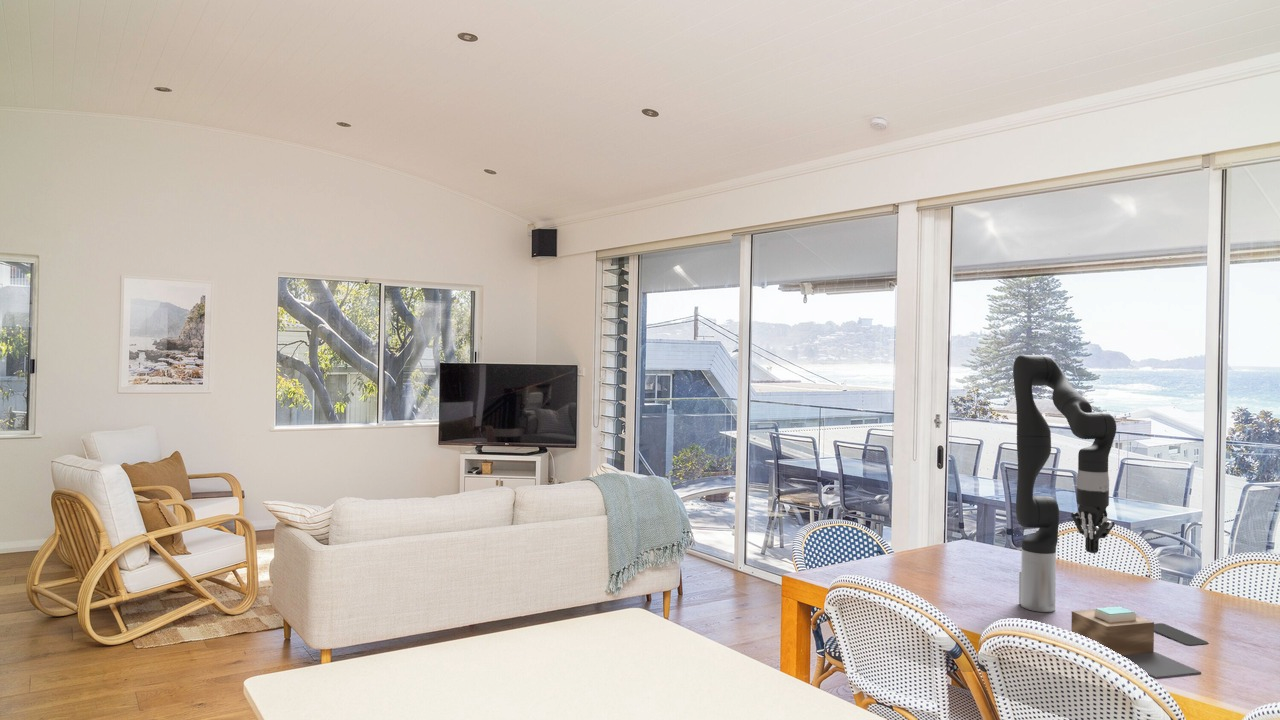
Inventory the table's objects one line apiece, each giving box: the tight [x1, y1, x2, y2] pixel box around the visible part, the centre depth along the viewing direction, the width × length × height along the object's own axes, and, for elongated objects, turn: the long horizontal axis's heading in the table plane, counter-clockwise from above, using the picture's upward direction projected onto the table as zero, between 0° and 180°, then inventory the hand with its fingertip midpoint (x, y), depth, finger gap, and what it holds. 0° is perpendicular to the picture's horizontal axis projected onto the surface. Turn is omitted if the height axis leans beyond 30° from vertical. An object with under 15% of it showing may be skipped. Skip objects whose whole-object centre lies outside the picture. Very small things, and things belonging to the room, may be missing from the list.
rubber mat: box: [1122, 651, 1202, 680], centre depth 199 cm, size 13×13×1 cm
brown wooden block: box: [1070, 608, 1155, 655], centre depth 211 cm, size 12×14×8 cm
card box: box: [1094, 605, 1137, 622], centre depth 210 cm, size 5×8×2 cm, turn 103°
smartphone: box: [1154, 622, 1209, 647], centre depth 220 cm, size 7×1×15 cm
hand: (1091, 552), depth 217 cm, fingers closed
